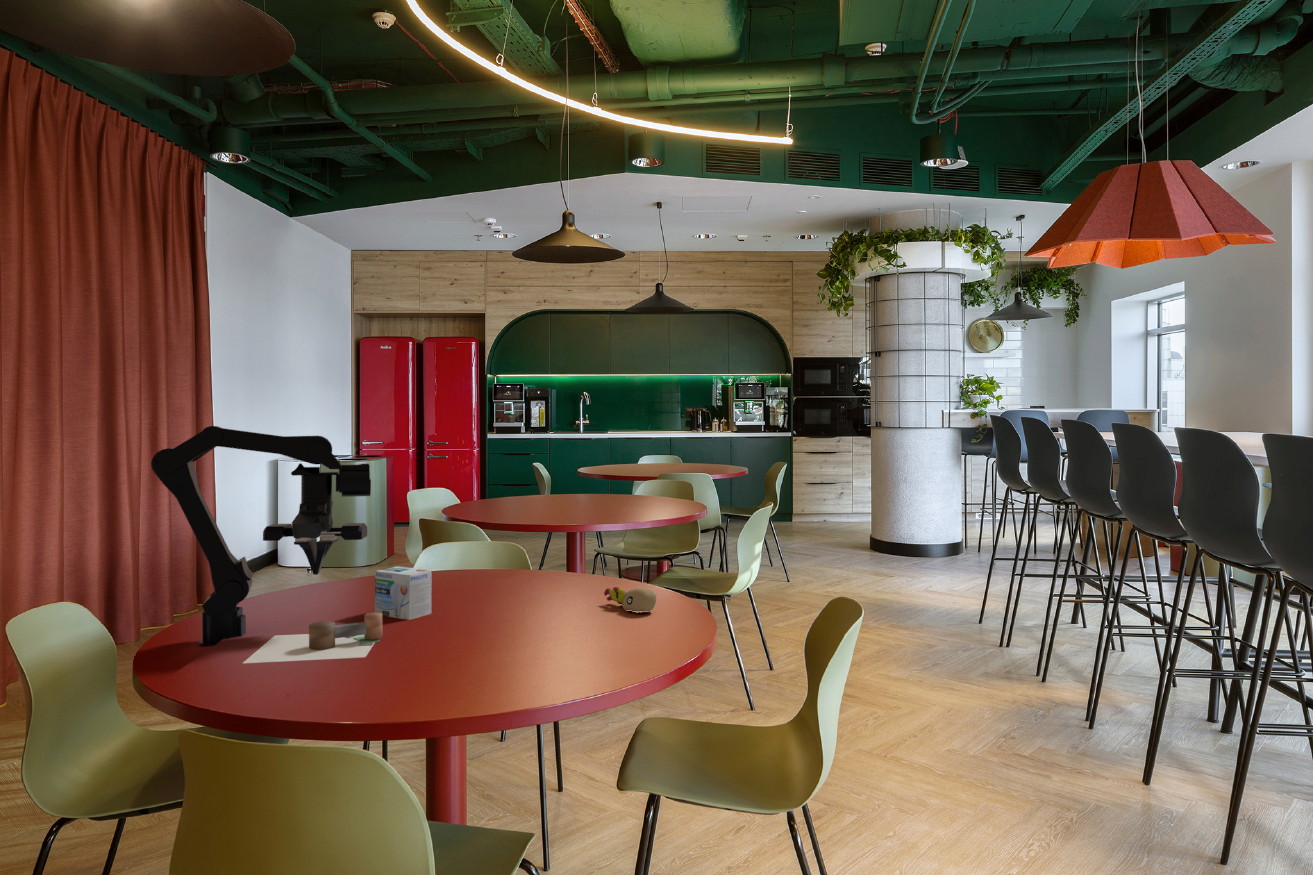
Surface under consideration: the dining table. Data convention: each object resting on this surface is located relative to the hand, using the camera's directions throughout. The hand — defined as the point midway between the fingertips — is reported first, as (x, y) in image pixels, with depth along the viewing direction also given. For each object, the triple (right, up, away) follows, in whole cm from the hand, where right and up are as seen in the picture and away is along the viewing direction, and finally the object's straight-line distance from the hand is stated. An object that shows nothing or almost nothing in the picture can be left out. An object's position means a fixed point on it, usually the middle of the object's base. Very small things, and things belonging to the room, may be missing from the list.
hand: (316, 574), depth 156 cm
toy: (+63, -12, +21) cm, 67 cm away
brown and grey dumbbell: (+11, -11, -12) cm, 20 cm away
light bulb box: (+14, -12, +11) cm, 22 cm away
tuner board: (+6, -12, -14) cm, 19 cm away
